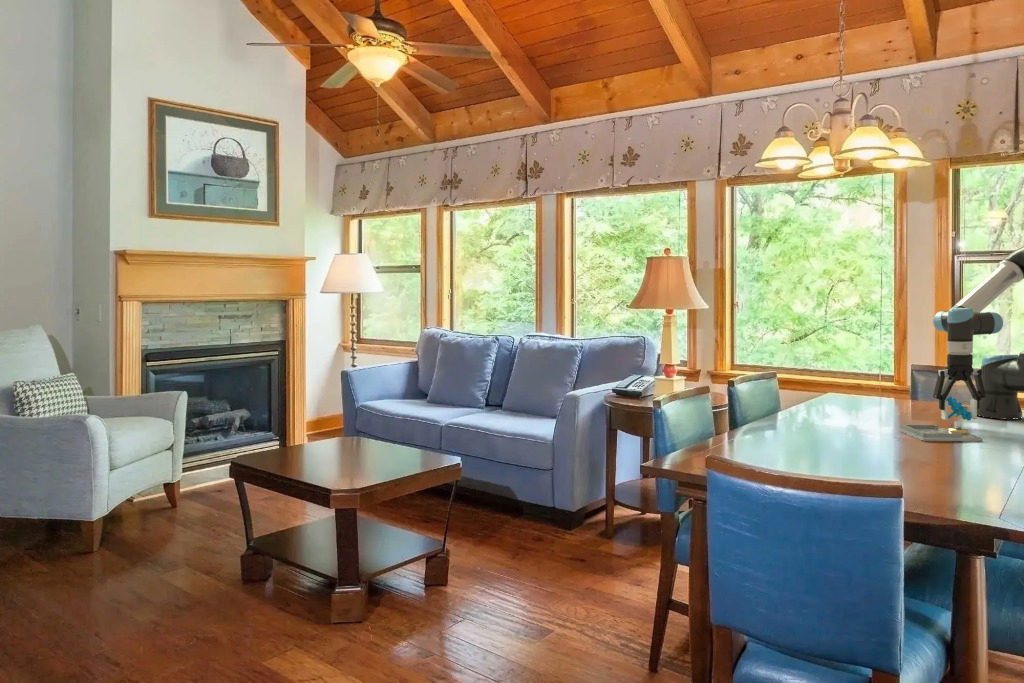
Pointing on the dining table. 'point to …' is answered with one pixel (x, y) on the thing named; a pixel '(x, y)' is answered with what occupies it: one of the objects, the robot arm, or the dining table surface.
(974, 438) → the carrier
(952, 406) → the gear
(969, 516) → the dining table surface
